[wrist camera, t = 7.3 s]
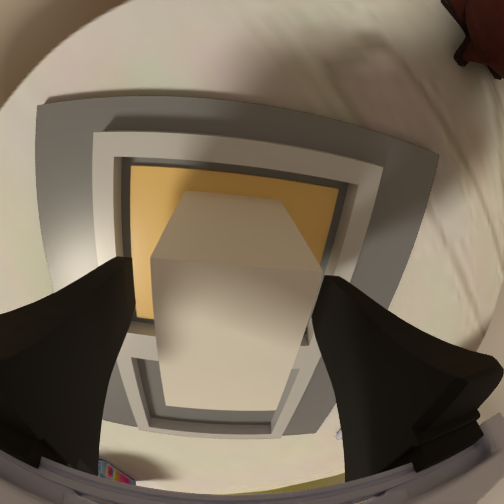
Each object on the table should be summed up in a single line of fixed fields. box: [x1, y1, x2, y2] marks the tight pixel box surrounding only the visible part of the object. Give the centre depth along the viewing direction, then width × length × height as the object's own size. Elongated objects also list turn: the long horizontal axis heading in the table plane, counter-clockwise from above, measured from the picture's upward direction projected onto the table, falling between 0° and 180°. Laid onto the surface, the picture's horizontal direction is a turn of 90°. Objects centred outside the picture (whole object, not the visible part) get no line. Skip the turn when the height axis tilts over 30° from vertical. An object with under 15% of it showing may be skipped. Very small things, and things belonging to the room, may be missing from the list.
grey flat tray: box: [35, 96, 439, 439], centre depth 15 cm, size 20×25×2 cm
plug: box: [150, 190, 323, 411], centre depth 10 cm, size 4×7×6 cm, turn 172°
